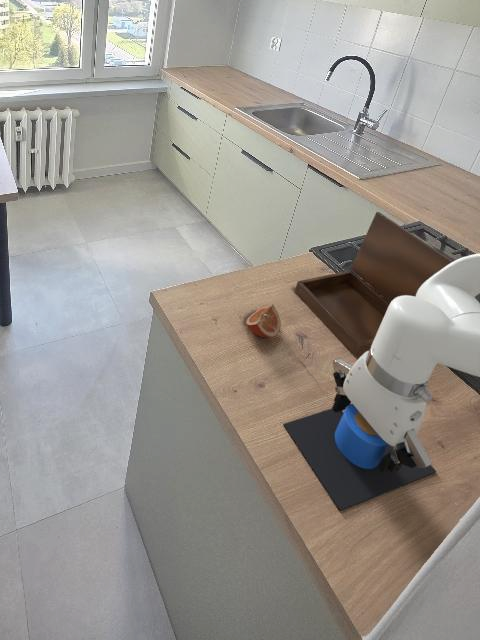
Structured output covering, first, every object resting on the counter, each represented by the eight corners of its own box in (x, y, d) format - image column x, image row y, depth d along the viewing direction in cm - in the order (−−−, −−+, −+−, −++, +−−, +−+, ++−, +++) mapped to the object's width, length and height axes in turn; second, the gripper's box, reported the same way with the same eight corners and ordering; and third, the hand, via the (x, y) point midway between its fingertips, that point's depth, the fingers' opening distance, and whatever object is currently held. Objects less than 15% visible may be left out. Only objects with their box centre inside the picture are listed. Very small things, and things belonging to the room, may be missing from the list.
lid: (456, 265, 84) (471, 262, 85) (376, 211, 100) (390, 210, 101) (419, 328, 90) (434, 325, 92) (350, 268, 107) (364, 267, 108)
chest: (354, 360, 88) (360, 346, 86) (293, 294, 104) (297, 281, 102) (413, 343, 92) (420, 329, 91) (346, 282, 109) (351, 269, 107)
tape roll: (355, 421, 76) (366, 398, 73) (388, 462, 70) (402, 439, 67) (325, 431, 74) (335, 408, 72) (357, 474, 68) (369, 450, 66)
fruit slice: (256, 311, 99) (260, 295, 97) (284, 329, 94) (289, 313, 92) (238, 331, 93) (243, 315, 91) (267, 351, 89) (272, 334, 87)
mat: (369, 397, 81) (370, 396, 81) (435, 472, 69) (436, 471, 69) (283, 425, 75) (283, 423, 75) (339, 511, 64) (340, 510, 64)
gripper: (472, 419, 58) (427, 488, 65) (366, 319, 73) (339, 384, 80) (432, 434, 56) (390, 504, 62) (332, 328, 71) (307, 394, 78)
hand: (362, 437), depth 71 cm, fingers open, 9 cm apart
